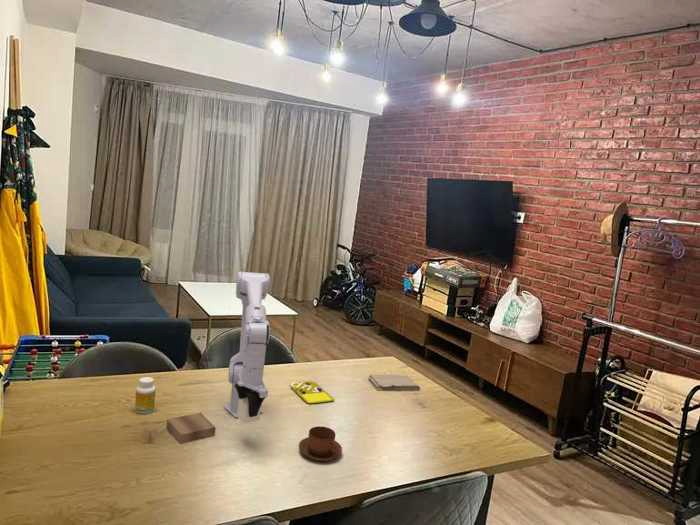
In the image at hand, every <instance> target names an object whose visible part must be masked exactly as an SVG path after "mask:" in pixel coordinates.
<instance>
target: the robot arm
mask: <svg viewBox="0 0 700 525" xmlns="http://www.w3.org/2000/svg"><path fill="white" fill-rule="evenodd" d="M236 274H237V275H236V284H235V285H236V286H235V297H236V298H237V299H239V300H241V303H242V304H241V305H242V311H241V312H242V315H241V324H240V325H241V327H240V328H241V329H240V338H239V340H240V341H239V342H240V343H239V352H238V353H236V354H234V355H233V356H231V358H230V360H229V365H228V374H227V375H228V377H227V378H228V379H227V380H228V383H229V384H231V390H230V391H231V392H230V402H229V405H225V406H223V408H224V409H225V410H226V411H227V412H228V413H229V414H230V415H232V416H233V417H234V418H237V419H238V418H239V417H238V416H237V413H238V403H239V399H242V398H248V404H249V416H250V417H254V416H257V414H258V411H259V408H260V414H261V413H263V410H262V405H263V403H264V400H265V399H266V398H268V396H269V389H267V387H266V384H265V383H264V381H263V380H264V379H263V378H264V371H265V370H264V369H265V360H266V359H265V358H266V352H267V345H269V341H270V337H271V336H270V334H271V328H270V323H269V321H268V320H267V310H266V307H265V306H264V305H263V304H262V303H263V302H262V301H263V300H265V299H266V297H267V294H268V292H269V289H270V285H271V284H270V280H271V279H270V278H271V277H270V275H269V272H265V273H264V272H263V273H262V272H250V271H249V272H247V271H241V270H240V271H238V272H237V273H236Z"/></svg>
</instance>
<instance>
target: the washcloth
mask: <svg viewBox="0 0 700 525" xmlns="http://www.w3.org/2000/svg"><path fill="white" fill-rule="evenodd" d="M367 380H368V381H369V383H370V384H371V385H372V386H373V388H374V389H375V390H376V391H381V392H417V391H420V390H421V386H420V385H419V384H417V383H416V382H414V381H413V379H411V377H410V376H408V375H405V374H401V375H400V374H369V375H368V377H367Z"/></svg>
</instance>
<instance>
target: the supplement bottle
mask: <svg viewBox="0 0 700 525" xmlns="http://www.w3.org/2000/svg"><path fill="white" fill-rule="evenodd" d="M138 381H139V382H138V386H137V387H136V389H135V404H134V411H135V413H137V414H141V415H142V414H145V415H147V414H150V413H152V412H153V411H154V410H155V399H156V386H155V385H154V378H153V377H150V376H145V377H141V378H140V379H139V380H138Z"/></svg>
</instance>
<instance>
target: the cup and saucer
mask: <svg viewBox="0 0 700 525" xmlns="http://www.w3.org/2000/svg"><path fill="white" fill-rule="evenodd" d="M298 449H299V451H300V452H301V453H302V455H304V456H305V457H307V458H309V459H312V460H314V461H319V462H320V461H321V462H327V461H331V460H334V459H336V458H338V457H339V456H340V455H341V454H342V453H343V452H342V451H343V448H342V445H341V444H340V443H339V442H337V441H336V432H335V431H334V429H332V428H330V427H326V426H313V427H311V428H310V429H309V431H308V437H305V438H303V439H301V440H300V442H299V444H298Z"/></svg>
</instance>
